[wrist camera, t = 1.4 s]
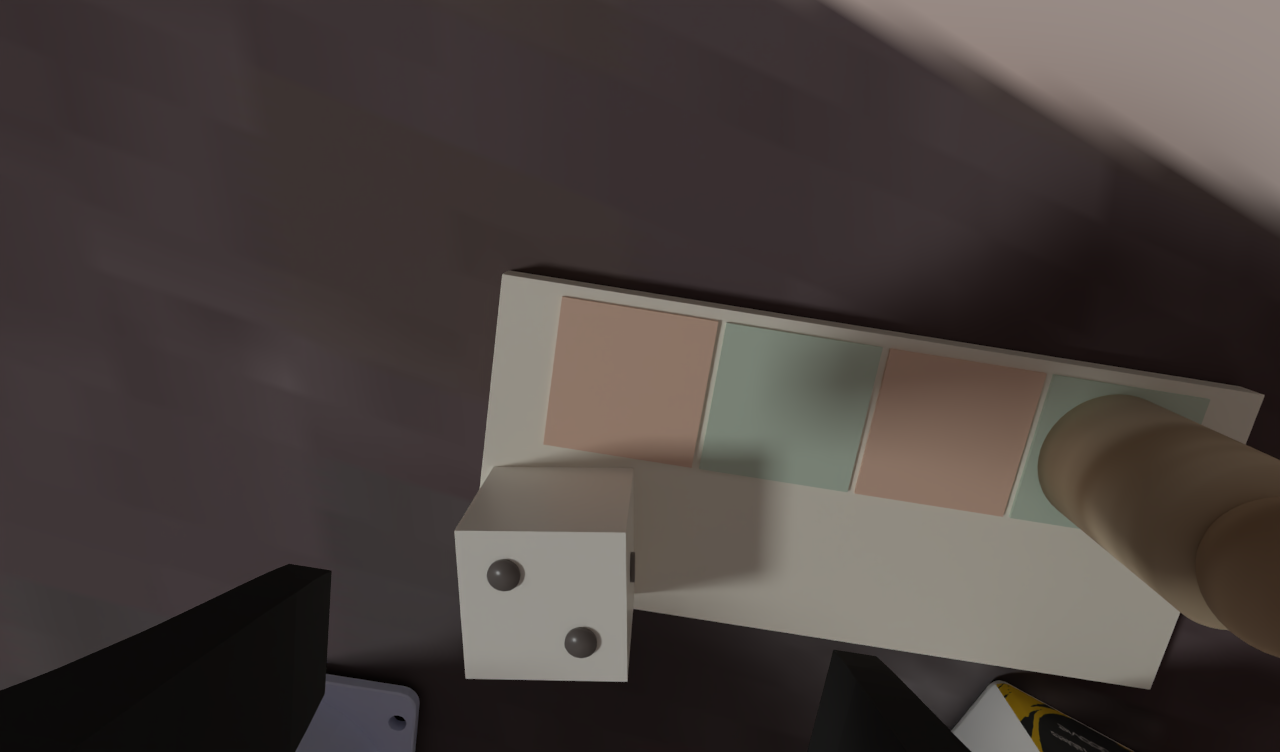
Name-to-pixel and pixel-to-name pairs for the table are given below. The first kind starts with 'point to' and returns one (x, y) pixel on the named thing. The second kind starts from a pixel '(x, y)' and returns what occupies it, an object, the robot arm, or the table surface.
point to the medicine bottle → (1025, 726)
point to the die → (548, 574)
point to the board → (836, 473)
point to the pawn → (1174, 509)
